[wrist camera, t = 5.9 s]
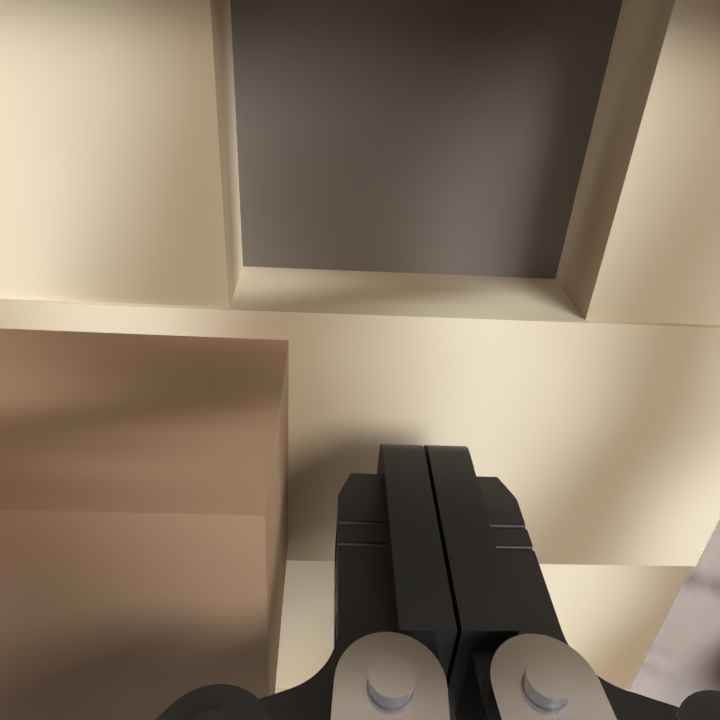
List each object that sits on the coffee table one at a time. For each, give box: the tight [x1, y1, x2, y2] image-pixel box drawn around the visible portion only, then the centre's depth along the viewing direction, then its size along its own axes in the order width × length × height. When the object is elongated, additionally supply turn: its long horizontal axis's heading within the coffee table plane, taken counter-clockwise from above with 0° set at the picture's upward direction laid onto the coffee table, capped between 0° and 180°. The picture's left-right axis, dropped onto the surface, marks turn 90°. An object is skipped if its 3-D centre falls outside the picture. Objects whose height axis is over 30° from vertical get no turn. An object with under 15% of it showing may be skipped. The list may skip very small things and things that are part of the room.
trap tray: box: [0, 0, 720, 694], centre depth 12 cm, size 23×18×4 cm
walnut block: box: [0, 328, 289, 720], centre depth 10 cm, size 6×5×4 cm
